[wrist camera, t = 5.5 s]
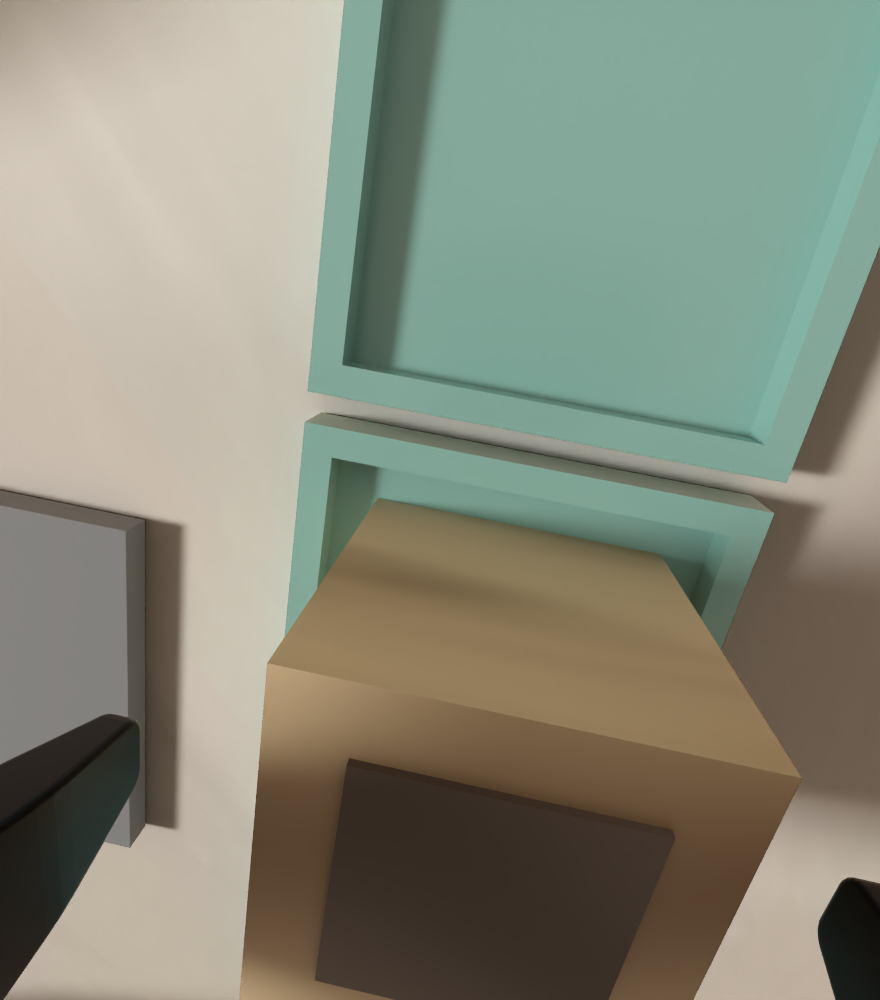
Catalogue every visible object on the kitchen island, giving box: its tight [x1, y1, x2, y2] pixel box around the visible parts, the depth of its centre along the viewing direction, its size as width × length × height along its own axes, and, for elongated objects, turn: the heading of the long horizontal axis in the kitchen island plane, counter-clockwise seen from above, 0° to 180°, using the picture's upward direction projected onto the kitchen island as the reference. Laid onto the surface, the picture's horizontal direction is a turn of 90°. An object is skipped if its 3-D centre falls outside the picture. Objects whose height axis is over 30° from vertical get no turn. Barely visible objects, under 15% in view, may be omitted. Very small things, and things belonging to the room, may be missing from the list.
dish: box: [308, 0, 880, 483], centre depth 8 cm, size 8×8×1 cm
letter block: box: [239, 498, 802, 1000], centre depth 8 cm, size 5×5×5 cm
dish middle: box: [285, 413, 775, 649], centre depth 11 cm, size 8×8×1 cm
